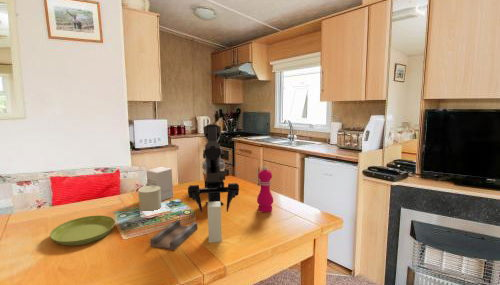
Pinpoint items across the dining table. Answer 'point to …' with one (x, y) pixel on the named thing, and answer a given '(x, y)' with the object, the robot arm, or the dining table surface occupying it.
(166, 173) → the supplement box
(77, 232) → the saucer
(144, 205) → the can
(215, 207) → the white rectangular block
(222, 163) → the reusable coffee cup
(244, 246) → the dining table surface
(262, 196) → the pepper mill
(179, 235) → the floor track
